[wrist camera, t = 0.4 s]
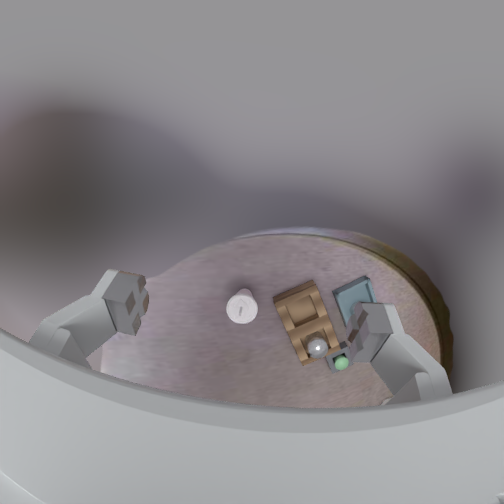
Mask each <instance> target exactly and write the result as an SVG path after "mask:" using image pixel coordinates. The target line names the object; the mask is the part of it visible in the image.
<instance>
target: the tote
mask: <svg viewBox="0 0 504 504" xmlns="http://www.w3.org/2000/svg"><path fill="white" fill-rule="evenodd" d="M332 292H333V294H334V297H335V300H336V302H337V305H338V308H339V310H340V313H341V316H342V319H343V321H344V324H345V327H347V322H348V320H349V318H350V316H351V313H350V309H351V307H352V305H353V304H354V303H355V302H358V301H362V302H374V303H377V301H376V297H375V294H374V291H373V288H372V285H371V282H370V278H368V277H366V276H363V277H361V278H359V279H357V280H355V281H353V282H351V283H349V284H347V285H345V286H342V287H340V288H338V289H336V290H334V291H332Z"/></svg>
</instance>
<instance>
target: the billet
mask: <svg viewBox="0 0 504 504" xmlns="http://www.w3.org/2000/svg"><path fill="white" fill-rule="evenodd" d="M358 302H362V301H358ZM358 302H355V303H354V304H353V305H352V307H351V309H350V313H351V315H353V314H354V313H355V311H354V307H355V305H356V304H357V303H358Z"/></svg>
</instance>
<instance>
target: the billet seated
mask: <svg viewBox="0 0 504 504" xmlns="http://www.w3.org/2000/svg"><path fill="white" fill-rule="evenodd" d="M305 342H306V345H307V348H308V351H309V354H310V356H311V357H313V358H316V359H319V358H322V357H324V356H325V355H326V354H327V352H328V346H327V344H326V342H325V340H324V338H323V336H322V334H321V333H320V332H318V331H316V332H314V333H311V334H309V335H307V336H306V338H305Z"/></svg>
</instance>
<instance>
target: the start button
mask: <svg viewBox="0 0 504 504" xmlns="http://www.w3.org/2000/svg"><path fill="white" fill-rule="evenodd" d="M333 359H334V362H335V363H334V365H335V367H336V369H338V370H343V369H345V368H346V367H347V366H348V364H349V361H348V359H347V358H346V357H344V355H343V354H340V355H338V356H336V357H334V358H333Z"/></svg>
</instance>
